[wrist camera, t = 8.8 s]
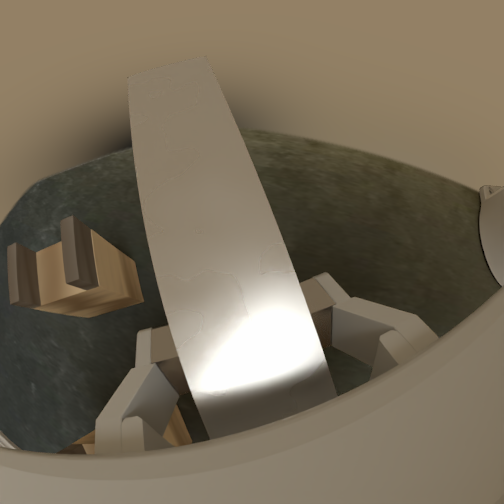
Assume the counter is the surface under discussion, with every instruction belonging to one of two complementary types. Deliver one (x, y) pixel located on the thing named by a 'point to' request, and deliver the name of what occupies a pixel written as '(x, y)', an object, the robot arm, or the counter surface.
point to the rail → (220, 257)
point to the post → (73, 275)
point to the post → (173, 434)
